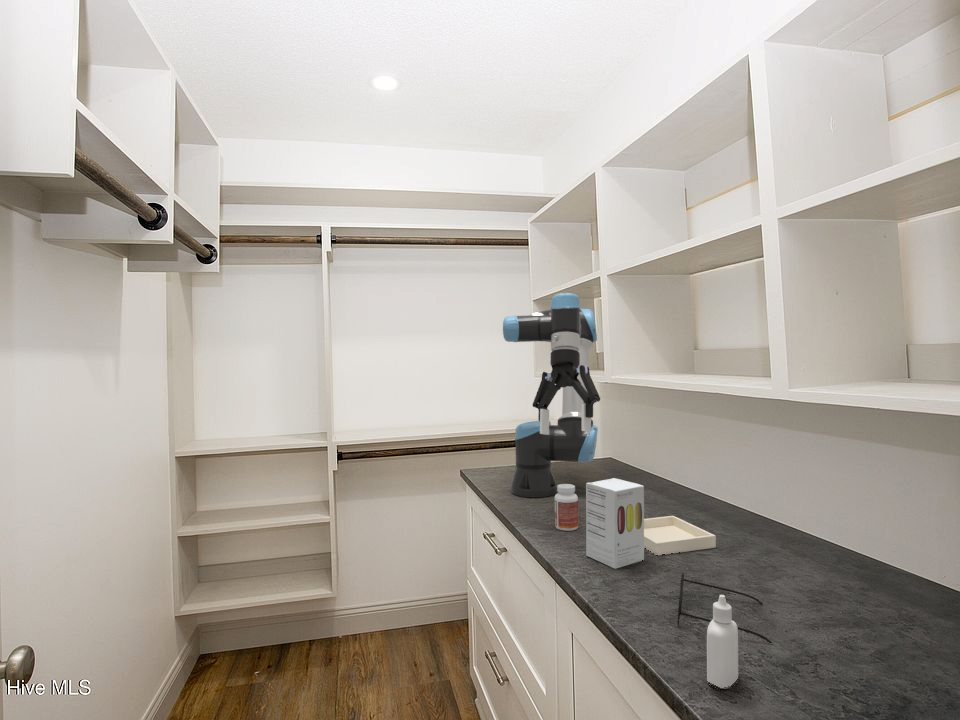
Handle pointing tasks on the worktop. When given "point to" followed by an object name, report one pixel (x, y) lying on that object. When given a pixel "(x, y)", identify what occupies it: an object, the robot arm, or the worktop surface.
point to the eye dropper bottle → (722, 646)
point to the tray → (675, 536)
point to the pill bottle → (566, 508)
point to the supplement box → (615, 522)
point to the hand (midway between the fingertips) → (564, 433)
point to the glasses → (708, 619)
